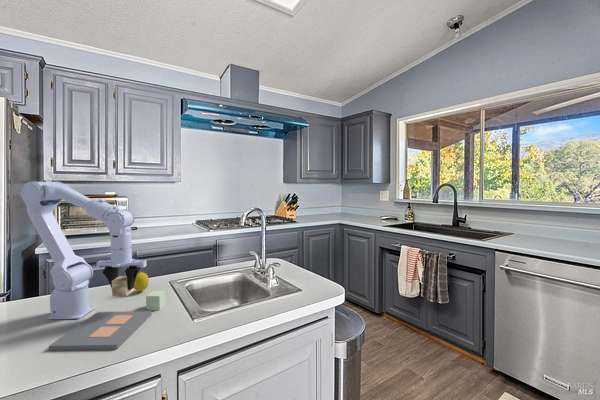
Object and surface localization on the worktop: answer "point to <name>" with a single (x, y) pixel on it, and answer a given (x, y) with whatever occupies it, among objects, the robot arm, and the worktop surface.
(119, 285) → the maple block
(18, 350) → the worktop surface
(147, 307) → the sage block
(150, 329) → the worktop surface
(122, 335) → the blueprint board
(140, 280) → the lemon
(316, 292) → the worktop surface
